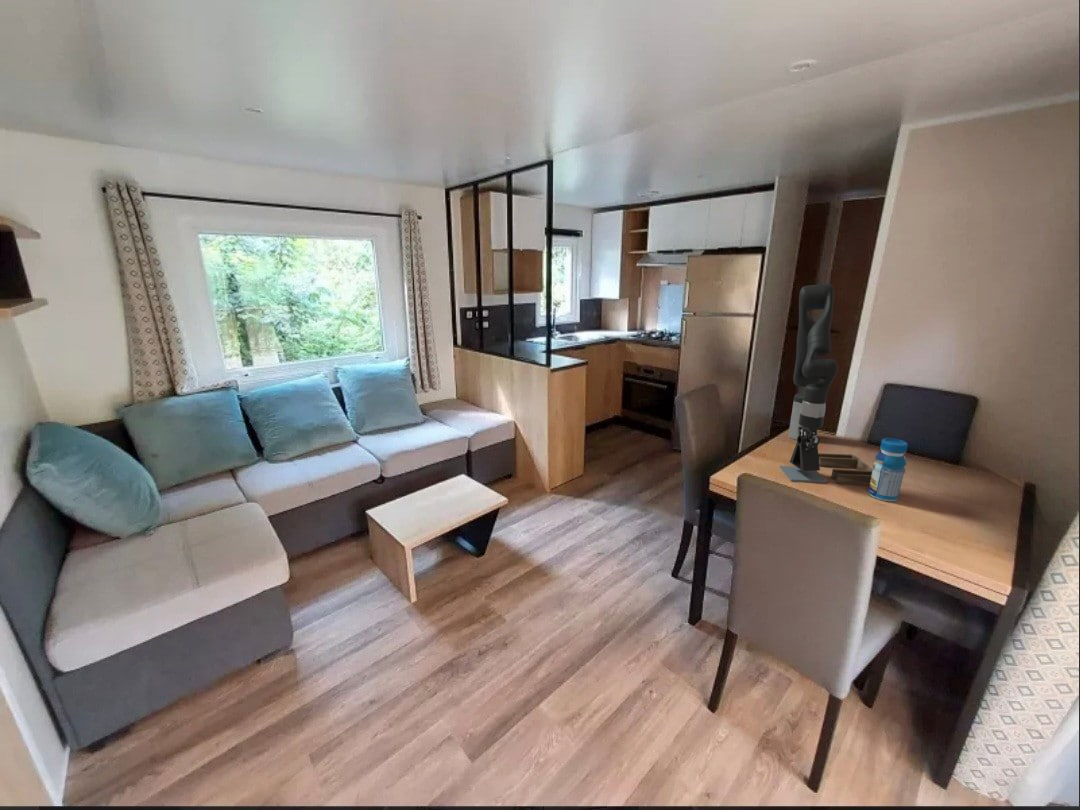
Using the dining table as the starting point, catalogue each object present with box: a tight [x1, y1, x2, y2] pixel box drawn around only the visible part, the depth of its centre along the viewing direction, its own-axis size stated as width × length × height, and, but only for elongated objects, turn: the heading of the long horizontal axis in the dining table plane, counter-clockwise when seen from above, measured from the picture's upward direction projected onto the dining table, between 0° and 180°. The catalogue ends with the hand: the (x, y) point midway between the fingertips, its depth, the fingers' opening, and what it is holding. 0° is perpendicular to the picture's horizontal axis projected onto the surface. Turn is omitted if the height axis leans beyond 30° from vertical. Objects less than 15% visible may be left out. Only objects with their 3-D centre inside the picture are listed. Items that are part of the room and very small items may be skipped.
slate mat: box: [779, 465, 828, 484], centre depth 165 cm, size 12×12×1 cm
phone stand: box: [789, 436, 821, 472], centre depth 162 cm, size 9×6×12 cm, turn 179°
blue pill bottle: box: [867, 437, 909, 502], centre depth 146 cm, size 8×8×20 cm
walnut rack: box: [818, 452, 873, 486], centre depth 166 cm, size 20×14×4 cm
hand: (805, 457), depth 163 cm, fingers closed on phone stand, 3 cm apart
